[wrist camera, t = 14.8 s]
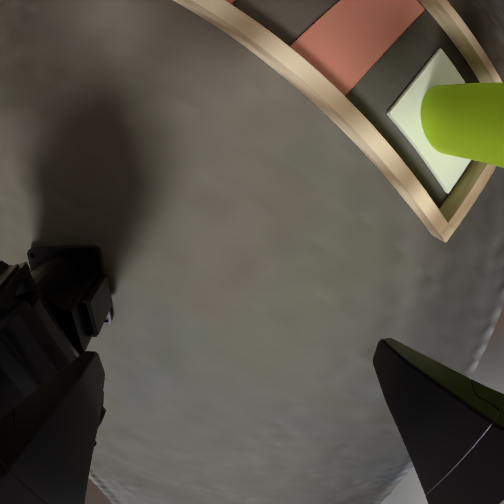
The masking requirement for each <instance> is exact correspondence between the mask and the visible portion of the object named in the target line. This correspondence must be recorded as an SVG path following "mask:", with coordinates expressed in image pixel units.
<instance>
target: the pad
mask: <svg viewBox="0 0 504 504" xmlns="http://www.w3.org/2000/svg"><path fill="white" fill-rule="evenodd" d="M450 84H465V81H464V80H463V78H462V77H461V75H460V74H459V72H458V71H457V69H456V68H455V67H454V65H453V64H452V62H451V61H450V60H449V58H448V57H447V55H446V54H445V53H444V51H443V50H442V49H438V50H437V51H436V53H435V54H434V55H433V56H432V58H431V59H430V60H429V61H428V63H427V64H426V65H425V66H424V68H423V69H422V70H421V71H420V72H419V74H418V75H417V76H416V77H415V79H414V80H413V81H412V82H411V84H410V85H409V86H408V87H407V89H406V90H405V91H404V92H403V93H402V95H401V96H400V97H399V98H398V100H397V101H396V102H395V103H394V105H393V106H392V107H391V108H390V109H389V111H388V112H387V113H386V114H387V115H388V116H389V117H390V118H391V120H392V121H393V122H394V123H395V124H396V126H397V127H398V128H399V129H400V130H401V132H402V133H403V134H404V135H405V137H406V138H407V139H408V140H409V142H410V143H411V144H412V146H413V147H414V148H415V150H416V151H417V152H418V153H419V155H420V156H421V158H422V159H423V160H424V162H425V163H426V164H427V166H428V167H429V169H430V170H431V171H432V173H433V174H434V176H435V177H436V179H437V180H438V182H439V183H440V185H441V186H442V188H443V189H444V191H445V192H446V193H448V194H449V192H450V191H451V189H452V188H453V187H454V185H455V184H456V182H457V181H458V179H459V178H460V176H461V175H462V173H463V172H464V170H465V169H466V167H467V166H468V164H469V163H470V161H471V160H470V159H465V158H461V157H456V156H451V155H446V154H442V153H440V152H438V151H437V150H435V149H434V148H433V147H432V146H431V144H430V143H429V142H428V140H427V138H426V136H425V134H424V131H423V128H422V124H421V104H422V101H423V98H424V96H425V94H426V93H427V91H428V90H429V89H431V88H432V87H434V86H438V85H450Z"/></svg>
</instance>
